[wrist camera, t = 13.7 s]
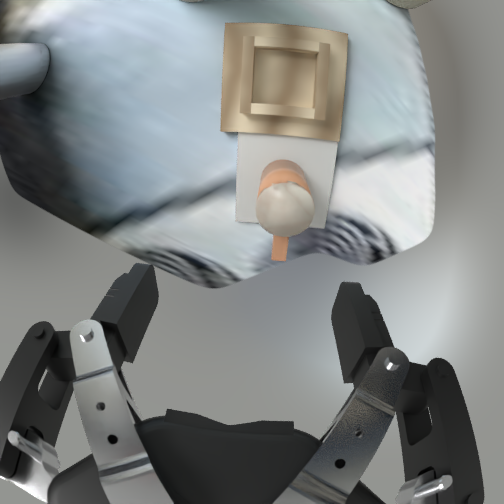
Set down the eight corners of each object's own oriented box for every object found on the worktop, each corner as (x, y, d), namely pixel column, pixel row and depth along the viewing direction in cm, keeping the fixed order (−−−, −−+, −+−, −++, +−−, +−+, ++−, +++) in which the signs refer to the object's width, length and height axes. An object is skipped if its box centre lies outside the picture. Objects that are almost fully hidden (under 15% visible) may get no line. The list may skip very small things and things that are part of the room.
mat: (236, 219, 37) (235, 221, 36) (238, 130, 30) (238, 131, 30) (323, 226, 36) (324, 228, 36) (337, 140, 30) (338, 141, 29)
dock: (222, 130, 30) (217, 133, 28) (227, 25, 23) (222, 18, 20) (337, 140, 30) (343, 144, 27) (345, 36, 22) (352, 30, 20)
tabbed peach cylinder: (261, 157, 31) (257, 180, 24) (307, 161, 31) (318, 185, 24) (257, 228, 37) (252, 268, 29) (298, 231, 36) (304, 272, 29)
